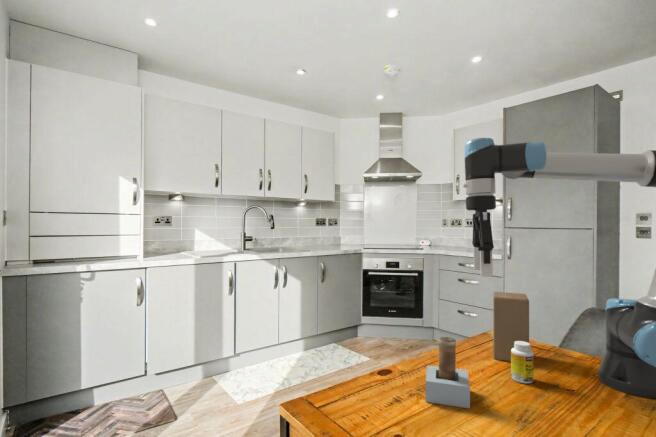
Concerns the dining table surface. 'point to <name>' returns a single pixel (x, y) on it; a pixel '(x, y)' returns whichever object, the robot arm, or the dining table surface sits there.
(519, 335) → the wooden block
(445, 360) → the peg
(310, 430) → the dining table surface
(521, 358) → the supplement bottle
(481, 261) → the robot arm
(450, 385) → the socket block
